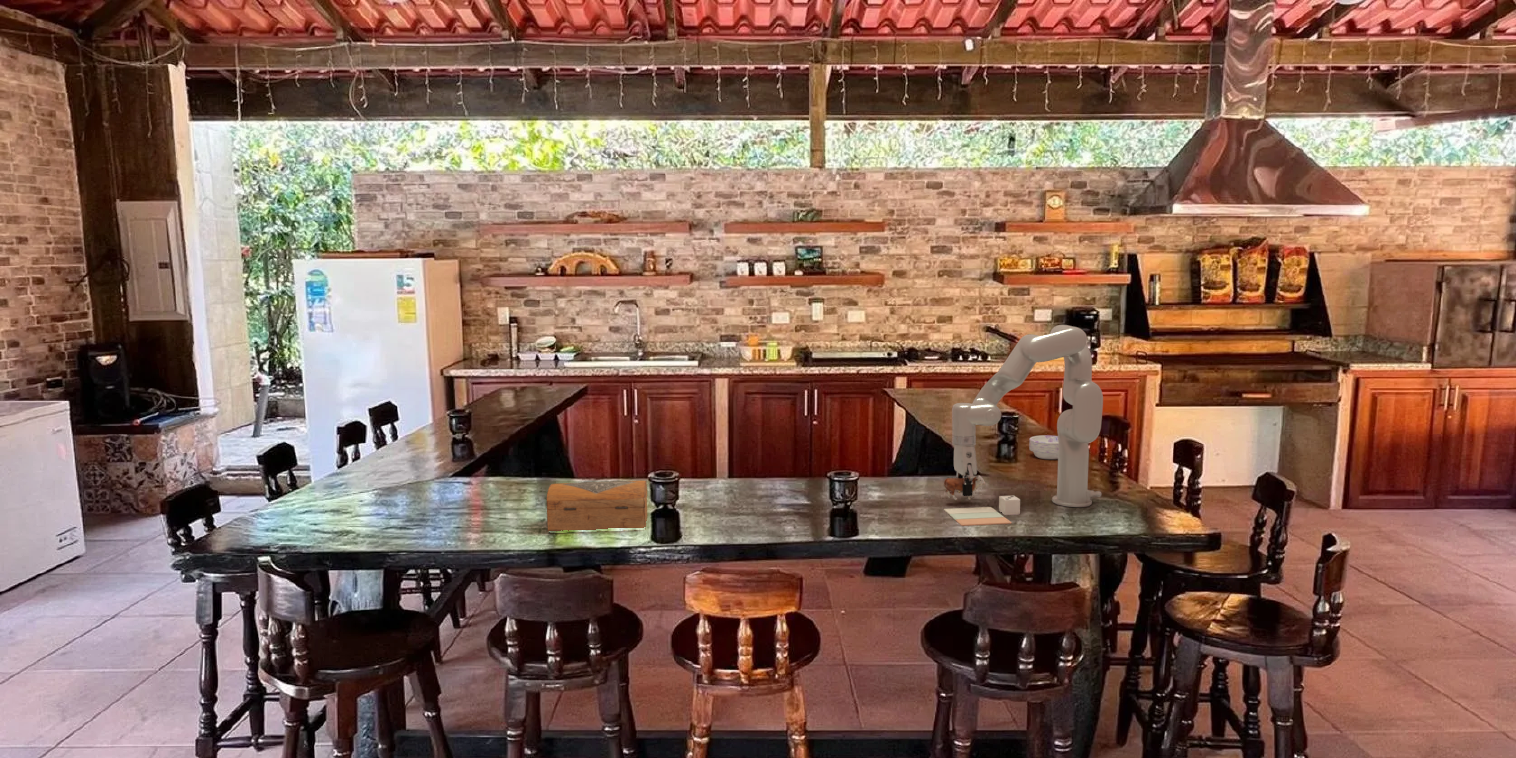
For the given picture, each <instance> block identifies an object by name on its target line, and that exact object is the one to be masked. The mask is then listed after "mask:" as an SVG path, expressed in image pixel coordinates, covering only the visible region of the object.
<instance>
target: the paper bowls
mask: <svg viewBox="0 0 1516 758" xmlns="http://www.w3.org/2000/svg"><path fill="white" fill-rule="evenodd" d="M1028 447H1029V451H1031V452H1033V454H1034V456H1035V457H1036V458H1039V459H1040V460H1041V459H1042V460H1058V451H1059V443H1058V435H1051V434H1050V435H1048V434H1047V435H1045V434H1044V435H1034V436H1031V437H1030V438H1029V445H1028Z"/></svg>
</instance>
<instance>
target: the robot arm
mask: <svg viewBox="0 0 1516 758" xmlns="http://www.w3.org/2000/svg"><path fill="white" fill-rule="evenodd" d="M1087 343H1088V337H1087V334H1086V332H1085V331H1084V330H1083V329H1082V328H1080V327H1077V326H1074V325H1073V326H1072V325H1067V324H1059V325H1055V326H1053V328H1051V330H1050V332H1049V333H1048V334H1044V335H1043V334H1042V335H1039V334H1033V333H1032V334H1025V335H1024V336H1022V337H1020V339H1019V340H1018V342H1017V343H1016V344H1015V346H1014V348H1013V349H1012V351H1011V352H1010V353H1009V355H1008V357H1007V358H1006V360H1005V361H1004V362H1003V364H1002V365H1001V367H1000V368H999V370H998V371H997V372H996V373H995V374H994V375H993V376H992V377H991V378H989V380H988V381H986V383H985V384H984V385H983V386H982V387H981V389H980V390H979V391H978V393H977V395H976V396H975V398H974V399H973V402H972V403H971V402H957V403H954V404H953V405H952V408H951V433H952V436H951V437H952V438H951V439H952V442H951V443H952V446H953V447H954V448H953V467H954V471H955V473H956V475H955V476H956V477H955V478H963V483H964V484H962V489H963V491H961V492H960V493H962V497H968V496H972V494H973V492H972V484H973V482H972V480H973V478H974V476H976V475H977V473H978V469H977V468H978V467H977V454H976V453H977V452H976V448H975V447H976V445H977V444H976V441H977V439H976V438H977V437H976V426H983V427H991V426H995V425H997V424H998V423H999V422H1000V420H1001V418H1002V412H1001V409H1000V407H998V406H997V405H998V404H999V402H1000V401H1001V399H1002V398H1003V397H1004V396H1005V395H1007V394H1008V393H1009V392H1010V391H1011V390H1014V389H1016V388H1018V387H1020V386H1021V385H1022V384H1023V383H1024V381H1025V380H1026V379H1027V377H1028V376H1029V374H1030V372H1031V371H1032V369H1033V368H1034V367H1035V365H1036V363H1044V362H1050V361H1054V360H1058V359H1061V358H1063V361H1064V363H1063V364H1064V373H1063V385H1062V397H1063V399H1064V401H1065V402H1066V403H1068V404H1069V405H1071V406H1072V408H1070V409H1066V410H1064V411H1063V412H1062V413H1060V415H1059V416H1058V418H1057V423H1056V430H1057V436H1058V443H1059V451H1058V459H1057V482H1056V483H1057V484H1056V485H1057V487H1056V495H1053V496H1052V497H1051V501H1052V503H1053V504H1055V505H1058V506H1062V507H1068V508H1085V507H1090V506H1091V505H1092V504H1093V501H1092V498H1101V497H1102V492H1101V490H1098V491H1096V490H1095V491H1094V490H1090V489H1088V482H1089V481H1088V479H1089V455H1090V452H1089V451H1090V449H1089V444H1091V443H1092V442H1094V441H1096V440H1097V439H1098V436H1099V435H1100V432H1101V429H1102V420H1103V408H1104V396H1103V391H1102V389H1101V387H1100V386H1099V384H1097V383H1096V382H1094V381H1093V380H1092V377H1093V374H1092V373H1093V368H1092V367H1093V359H1092V358H1093V357H1092V353H1091V350H1090V348H1089V346H1088V344H1087ZM966 477H968V478H967V479H966Z"/></svg>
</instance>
